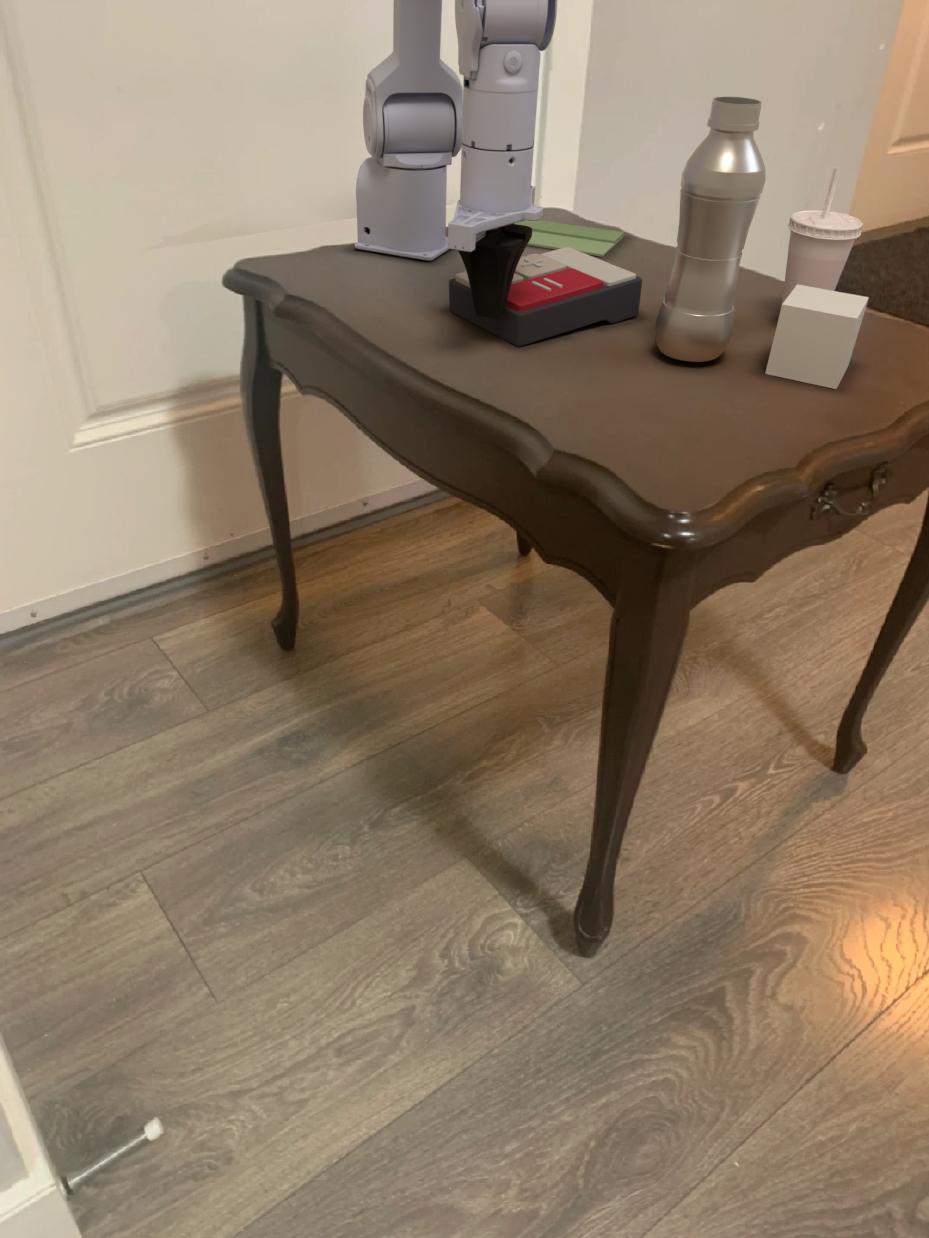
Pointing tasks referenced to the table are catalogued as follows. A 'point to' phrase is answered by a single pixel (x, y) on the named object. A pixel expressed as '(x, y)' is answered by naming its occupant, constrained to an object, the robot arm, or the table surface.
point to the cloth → (572, 237)
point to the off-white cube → (816, 335)
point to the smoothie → (819, 245)
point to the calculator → (554, 296)
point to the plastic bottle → (712, 233)
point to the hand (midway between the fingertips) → (489, 315)
